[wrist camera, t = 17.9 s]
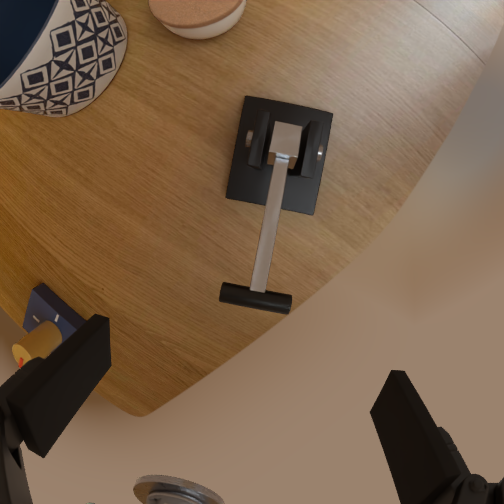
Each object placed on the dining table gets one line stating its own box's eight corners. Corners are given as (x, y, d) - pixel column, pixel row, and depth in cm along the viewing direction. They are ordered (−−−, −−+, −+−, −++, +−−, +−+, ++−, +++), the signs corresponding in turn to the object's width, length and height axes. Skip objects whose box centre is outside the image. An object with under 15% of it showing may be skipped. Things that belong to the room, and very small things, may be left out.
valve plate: (97, 330, 41) (87, 339, 38) (81, 363, 43) (73, 373, 40) (43, 282, 40) (31, 289, 37) (32, 319, 42) (21, 327, 39)
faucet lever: (285, 313, 23) (290, 316, 20) (220, 300, 23) (217, 302, 20) (314, 143, 24) (320, 130, 22) (256, 132, 24) (257, 117, 22)
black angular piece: (311, 213, 35) (334, 234, 23) (227, 197, 35) (204, 209, 23) (330, 115, 32) (362, 86, 20) (246, 98, 32) (234, 59, 20)
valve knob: (44, 315, 38) (12, 339, 30) (65, 333, 38) (34, 360, 30) (39, 332, 39) (9, 357, 31) (58, 350, 39) (30, 377, 31)
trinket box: (213, 65, 31) (196, 33, 22) (152, 30, 30) (123, -1, 21) (268, 9, 29) (267, -31, 20) (204, -22, 28) (190, -60, 19)
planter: (23, 123, 34) (-55, 117, 18) (48, 22, 29) (-15, -10, 13) (116, 113, 33) (32, 88, 17) (142, -1, 29) (89, -62, 13)
